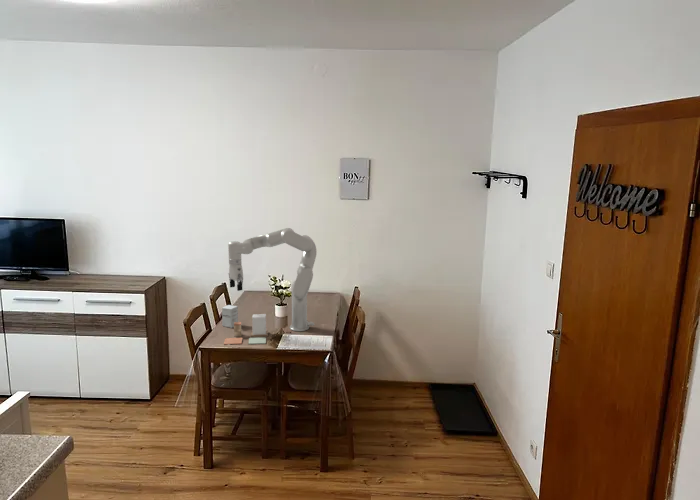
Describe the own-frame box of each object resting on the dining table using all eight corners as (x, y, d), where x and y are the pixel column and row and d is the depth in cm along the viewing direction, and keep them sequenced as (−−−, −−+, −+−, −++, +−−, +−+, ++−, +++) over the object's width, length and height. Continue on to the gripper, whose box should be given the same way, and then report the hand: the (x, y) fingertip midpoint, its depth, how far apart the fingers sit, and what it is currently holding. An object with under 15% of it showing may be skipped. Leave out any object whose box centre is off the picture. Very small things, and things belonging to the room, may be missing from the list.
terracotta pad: (242, 338, 302) (242, 337, 302) (241, 344, 293) (241, 343, 293) (225, 339, 300) (225, 338, 300) (223, 344, 292) (223, 343, 292)
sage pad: (265, 338, 303) (265, 337, 303) (265, 343, 294) (265, 342, 294) (249, 338, 302) (249, 337, 301) (248, 344, 293) (248, 343, 293)
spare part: (241, 334, 309) (241, 321, 308) (241, 336, 305) (240, 324, 304) (234, 334, 308) (234, 322, 307) (234, 336, 305) (233, 324, 303)
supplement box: (222, 326, 323) (221, 307, 320) (229, 322, 329) (228, 304, 327) (231, 328, 320) (230, 309, 317) (238, 324, 326) (238, 306, 324)
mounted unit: (267, 332, 313) (267, 313, 311) (267, 336, 306) (267, 317, 303) (251, 332, 312) (251, 313, 310) (250, 337, 304) (250, 318, 302)
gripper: (247, 263, 303) (248, 290, 306) (234, 258, 316) (235, 284, 319) (236, 264, 298) (237, 292, 301) (223, 260, 311) (224, 286, 314)
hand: (236, 288), depth 310 cm, fingers open, 9 cm apart
